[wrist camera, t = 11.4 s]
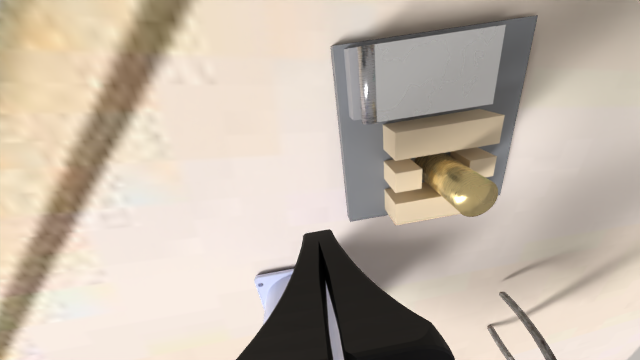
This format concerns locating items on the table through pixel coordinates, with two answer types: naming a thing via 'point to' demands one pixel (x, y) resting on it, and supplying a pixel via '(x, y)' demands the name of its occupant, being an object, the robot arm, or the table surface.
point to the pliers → (530, 327)
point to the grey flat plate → (429, 74)
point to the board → (370, 134)
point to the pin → (458, 184)
